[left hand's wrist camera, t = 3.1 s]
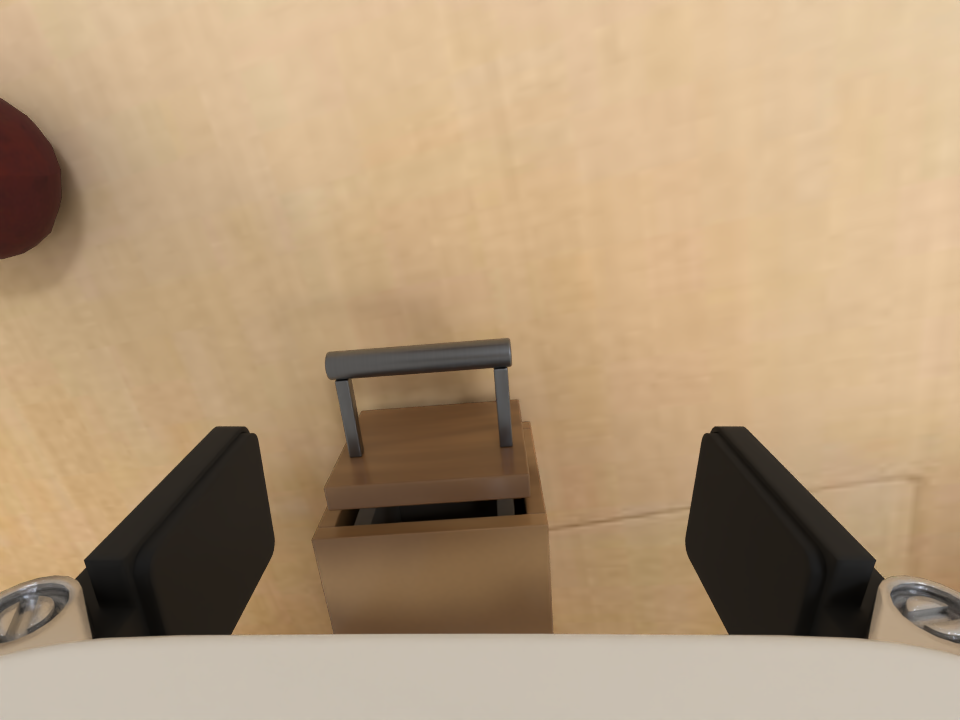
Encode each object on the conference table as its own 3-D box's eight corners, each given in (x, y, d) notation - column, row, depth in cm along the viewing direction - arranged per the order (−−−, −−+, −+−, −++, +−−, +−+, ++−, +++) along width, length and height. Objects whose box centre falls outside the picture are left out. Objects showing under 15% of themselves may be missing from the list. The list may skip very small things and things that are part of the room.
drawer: (345, 321, 28) (298, 376, 21) (512, 308, 28) (522, 359, 20) (408, 675, 37) (390, 797, 30) (535, 668, 36) (548, 790, 29)
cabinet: (359, 433, 31) (311, 540, 22) (530, 421, 31) (548, 524, 22) (407, 694, 39) (385, 851, 30) (545, 687, 38) (563, 843, 29)
